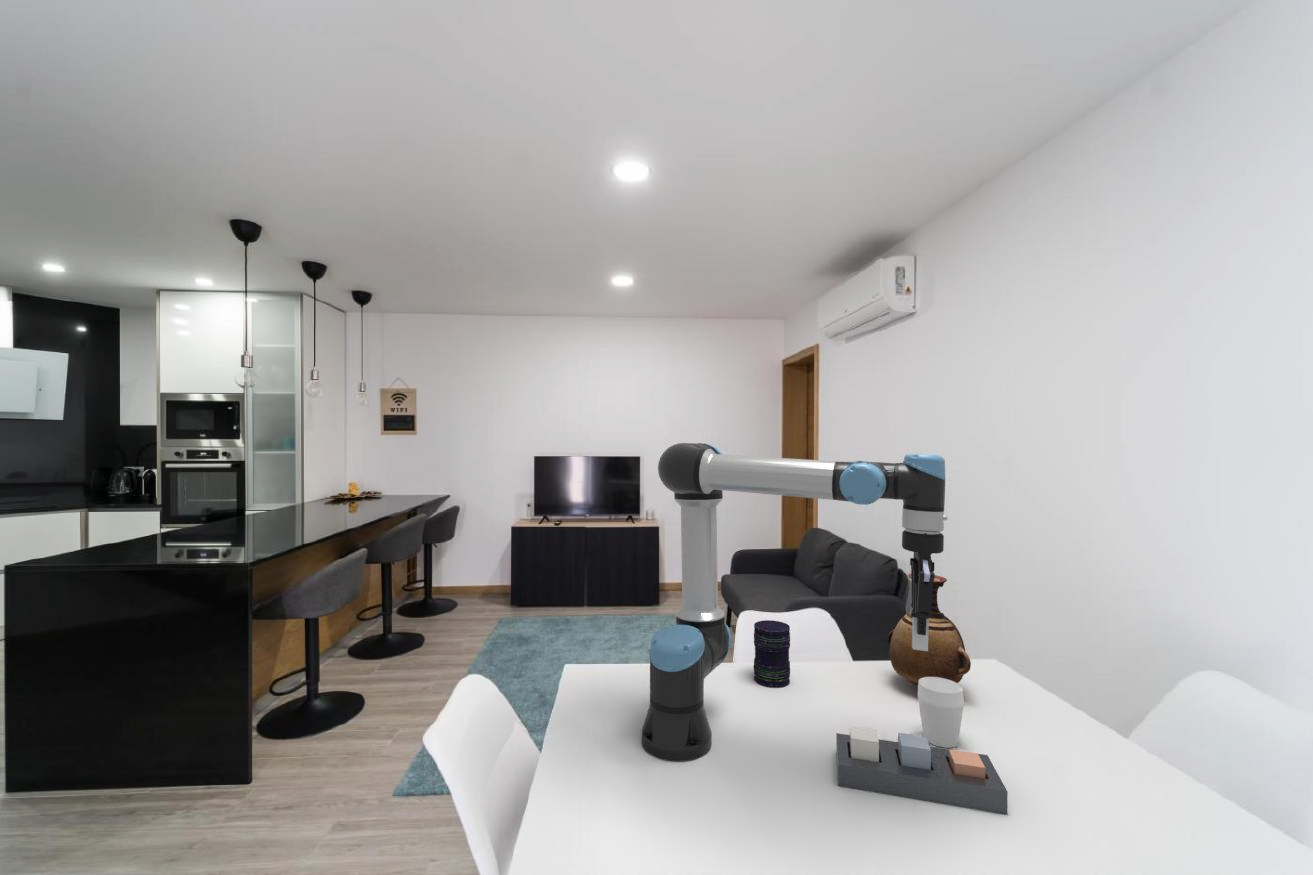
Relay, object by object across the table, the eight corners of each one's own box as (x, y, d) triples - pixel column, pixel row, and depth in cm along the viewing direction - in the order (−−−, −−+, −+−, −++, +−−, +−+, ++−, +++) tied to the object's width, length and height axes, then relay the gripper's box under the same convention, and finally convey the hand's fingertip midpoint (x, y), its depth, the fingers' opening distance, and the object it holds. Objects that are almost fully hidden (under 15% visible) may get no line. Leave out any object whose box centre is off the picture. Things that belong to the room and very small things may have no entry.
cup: (970, 753, 115) (970, 695, 116) (924, 748, 117) (923, 691, 117) (956, 732, 124) (955, 678, 124) (913, 727, 126) (912, 674, 126)
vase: (871, 678, 153) (871, 569, 154) (924, 670, 159) (923, 566, 159) (931, 713, 133) (930, 588, 134) (989, 703, 138) (988, 583, 139)
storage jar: (769, 670, 158) (769, 618, 159) (797, 681, 151) (797, 626, 151) (746, 679, 152) (746, 624, 152) (774, 691, 145) (774, 634, 145)
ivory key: (851, 764, 106) (851, 738, 107) (849, 750, 111) (849, 725, 111) (878, 768, 105) (878, 742, 105) (876, 754, 110) (876, 729, 110)
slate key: (901, 772, 104) (901, 745, 104) (898, 758, 109) (898, 732, 109) (930, 776, 103) (930, 749, 103) (925, 762, 107) (925, 736, 107)
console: (838, 785, 104) (838, 764, 104) (836, 752, 115) (836, 733, 115) (1007, 814, 96) (1007, 791, 96) (987, 775, 107) (987, 755, 107)
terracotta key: (954, 790, 101) (954, 763, 101) (948, 775, 106) (948, 749, 106) (985, 795, 100) (985, 767, 100) (978, 780, 105) (977, 753, 105)
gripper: (950, 537, 103) (947, 663, 103) (937, 527, 116) (934, 640, 115) (906, 534, 105) (903, 658, 105) (898, 525, 118) (895, 636, 118)
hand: (919, 648), depth 110 cm, fingers closed
